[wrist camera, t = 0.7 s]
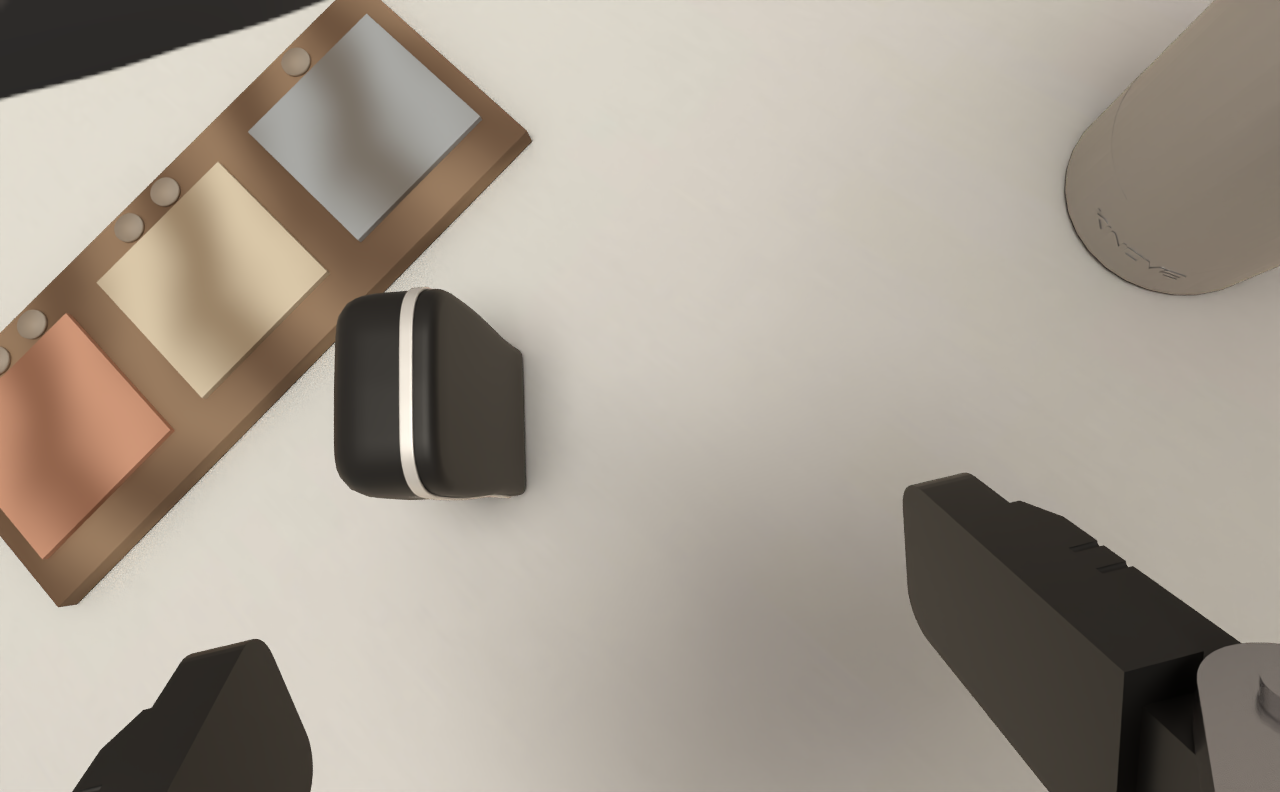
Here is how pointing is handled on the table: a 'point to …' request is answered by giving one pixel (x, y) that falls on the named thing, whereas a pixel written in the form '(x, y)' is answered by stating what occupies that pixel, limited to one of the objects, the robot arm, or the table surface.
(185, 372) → the tile board
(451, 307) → the battery charger
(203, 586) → the table surface
